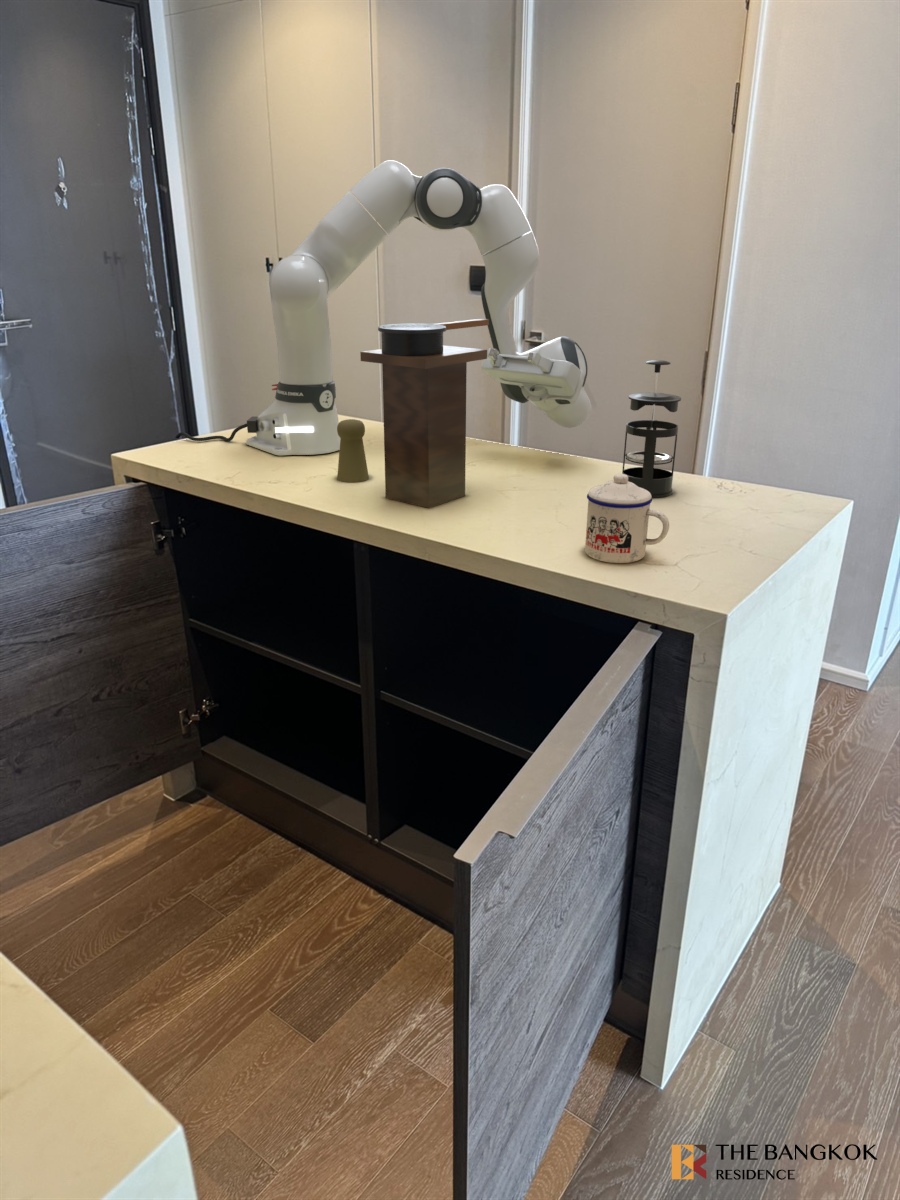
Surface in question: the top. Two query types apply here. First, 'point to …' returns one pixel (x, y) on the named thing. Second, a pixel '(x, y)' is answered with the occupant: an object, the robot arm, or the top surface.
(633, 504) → the teacup with lid
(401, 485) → the stand
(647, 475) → the french press
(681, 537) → the top surface
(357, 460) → the cork
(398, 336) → the saucepan
